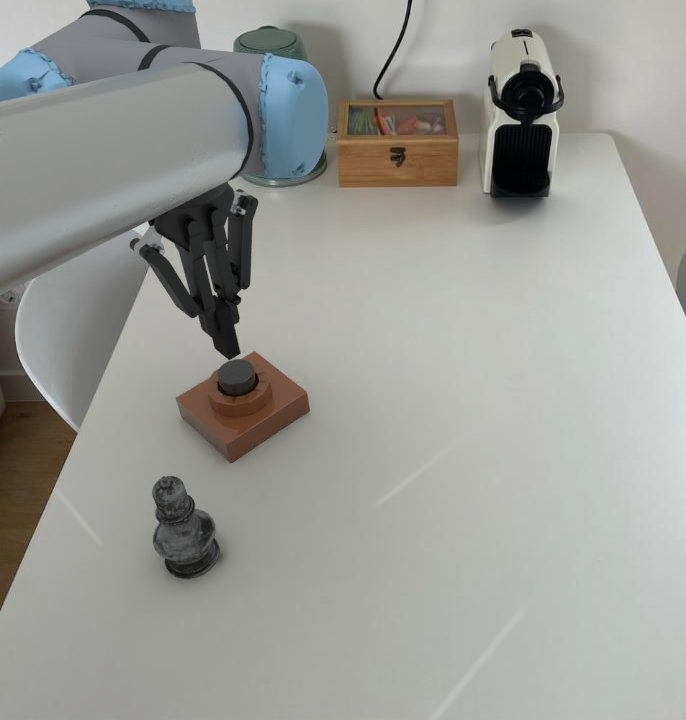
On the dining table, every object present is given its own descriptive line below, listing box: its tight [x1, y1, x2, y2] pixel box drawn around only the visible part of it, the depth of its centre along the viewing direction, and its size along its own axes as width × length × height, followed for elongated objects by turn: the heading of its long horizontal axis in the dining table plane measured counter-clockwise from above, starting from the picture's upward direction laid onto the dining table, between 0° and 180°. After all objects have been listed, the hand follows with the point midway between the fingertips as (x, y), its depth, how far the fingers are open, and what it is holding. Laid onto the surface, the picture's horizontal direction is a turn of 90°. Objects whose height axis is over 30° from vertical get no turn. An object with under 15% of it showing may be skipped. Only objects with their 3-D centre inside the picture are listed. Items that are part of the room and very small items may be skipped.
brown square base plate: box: [175, 350, 311, 463], centre depth 91 cm, size 11×10×5 cm
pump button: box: [217, 358, 257, 397], centre depth 89 cm, size 4×4×2 cm
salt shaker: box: [151, 475, 220, 580], centre depth 75 cm, size 6×6×12 cm
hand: (227, 350), depth 86 cm, fingers closed
